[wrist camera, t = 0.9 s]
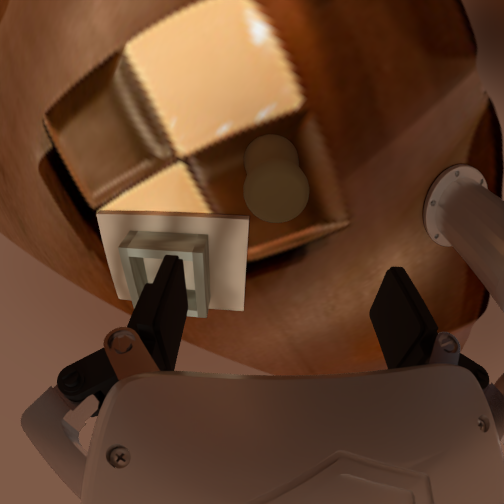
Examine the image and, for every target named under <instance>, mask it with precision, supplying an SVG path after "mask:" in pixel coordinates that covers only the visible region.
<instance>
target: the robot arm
mask: <svg viewBox="0 0 504 504" xmlns="http://www.w3.org/2000/svg"><path fill="white" fill-rule="evenodd" d="M423 220H424V226H425V229H426V231H427V233H428V235H429V236H430V237H431V239H432V240H433V241H434V242H436V243H437V244H439V245H441V246H447V247H449V246H453V248H454V249H455V250H456V251H457V252H458V253H459V255H460V256H461V257H462V258H463V259H464V261H465V262H466V263H467V264H468V265H469V267H470V268H471V269H472V270H473V272H474V273H475V274H476V275H477V277H478V278H479V279H480V281H481V282H482V283H483V285H484V286H485V287H486V289H487V290H488V291H489V293H490V294H491V295H492V297H493V298H494V300H495V301H496V303H497V304H498V305H499V307H500V308H501V310H502V311H503V312H504V201H503V200H501V199H500V198H499V197H497V196H496V195H495V194H493V193H492V192H491V191H489V190H488V188H487V184H486V181H485V179H484V177H483V176H482V174H481V173H480V172H479V171H478V170H477V169H475V168H473V167H472V166H469V165H465V164H459V165H454V166H452V167H450V168H448V169H446V170H445V171H444V172H442V173H441V174H440V175H439V177H438V178H437V179H436V180H435V181H434V183H433V184H432V186H431V188H430V190H429V192H428V194H427V197H426V200H425V204H424V209H423ZM187 312H188V299H187V291H186V283H185V274H184V264H183V259H179V256H178V255H165V256H164V258H163V261H162V263H161V265H160V267H159V270H158V272H157V274H156V277H155V279H154V281H153V283H146V284H145V286H144V288H143V290H142V292H141V295H140V297H139V299H138V302H137V304H136V306H135V309H134V311H133V313H132V316H131V318H130V321H129V323H128V326H127V327H120V328H116V329H114V330H112V331H110V332H109V333H108V334H107V336H106V337H105V339H104V348H102V349H100V350H98V351H96V352H94V353H92V354H90V355H89V356H86V357H84V358H83V359H81V360H79V361H77V362H75V363H73V364H71V365H69V366H67V367H65V368H64V369H63V370H62V371H61V372H60V373H59V376H58V379H57V385H56V386H55V387H54V388H52V386H51V387H49V388H48V389H47V390H46V391H45V392H44V393H43V394H42V395H41V396H40V397H39V398H38V399H37V400H36V401H35V402H34V403H33V404H32V405H30V406H29V407H28V408H27V409H26V410H25V412H24V413H23V414H22V417H21V426H22V428H23V430H24V432H25V433H26V435H27V436H28V438H29V439H30V440H31V442H32V443H33V445H34V446H35V447H36V449H37V450H38V451H39V453H40V454H41V455H42V456H43V458H44V459H45V460H46V462H47V463H48V464H49V465H50V467H51V468H52V469H53V470H54V471H55V473H56V474H57V475H58V476H59V477H60V478H61V479H62V481H63V482H64V483H65V484H66V485H67V486H68V487H69V488H70V489H71V490H72V491H73V492H74V493H75V494H76V495H77V496H78V497H79V498H80V499H81V504H504V459H503V453H502V448H501V444H500V441H501V442H502V443H503V444H504V373H503V374H502V375H501V377H500V378H499V379H498V380H497V381H496V383H495V384H493V383H491V384H489V376H488V373H487V372H486V370H485V369H484V368H483V367H482V366H480V365H478V364H477V363H475V362H474V361H472V360H471V359H469V358H467V357H466V356H464V355H463V354H461V353H460V344H459V342H458V340H457V339H456V337H455V336H453V335H452V334H450V333H448V332H440V333H439V334H438V333H437V330H438V327H437V325H436V323H435V321H434V319H433V317H432V315H431V314H430V312H429V310H428V308H427V306H426V305H425V303H424V301H423V299H422V298H421V296H420V294H419V292H418V291H417V289H416V287H415V286H414V284H413V282H412V281H411V279H410V278H409V276H408V274H407V273H406V271H405V270H404V268H403V267H391V268H390V269H389V270H387V272H386V274H385V276H384V279H383V281H382V284H381V286H380V288H379V291H378V293H377V295H376V298H375V300H374V302H373V304H372V307H371V309H370V319H371V321H372V324H373V327H374V329H375V332H376V335H377V337H378V340H379V343H380V346H381V349H382V352H383V355H384V358H385V361H386V364H387V367H388V369H387V370H378V371H368V372H357V373H344V374H327V375H296V376H266V375H235V374H216V373H202V372H185V371H174V369H175V364H176V359H177V355H178V350H179V346H180V342H181V337H182V333H183V329H184V324H185V320H186V316H187ZM95 416H98V417H97V420H96V423H95V426H94V430H93V434H92V438H91V442H90V446H89V451H88V452H87V451H86V450H85V449H84V448H83V447H82V445H81V444H80V442H79V438H78V437H79V432H80V431H81V429H82V428H83V427H84V426H85V425H86V423H85V421H86V420H87V419H88V418H89V417H95ZM128 450H129V451H128ZM115 467H116V468H115Z"/></svg>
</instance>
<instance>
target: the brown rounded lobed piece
mask: <svg viewBox="0 0 504 504" xmlns="http://www.w3.org/2000/svg"><path fill="white" fill-rule="evenodd" d="M244 166H245V169H246V172H247V177H246V180H245V183H244V199H245V201H246V204H247V206H248V208H249V209H250V210H251V212H252V213H253V214H254V215H255V216H257V217H258V218H260V219H261V220H264V221H267V222H270V223H282V222H286V221H289V220H291V219H293V218H295V217H296V216H298V215H299V214H300V213H301V212H302V211H303V209H304V208H305V206H306V204H307V201H308V198H309V185H308V181H307V178H306V176H305V175H304V173H303V172H302V170H301V169H300V168H299V157H298V154H297V150H296V148H295V147H294V146H293V144H292V143H291V142H290V141H289V140H287V139H286V138H285V137H282V136H279V135H274V134H267V135H263V136H260V137H258V138H256V139H255V140H253V141H252V142H251V143H250V144H249V146H248V147H247V148H246V151H245V154H244Z"/></svg>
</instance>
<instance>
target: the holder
mask: <svg viewBox="0 0 504 504" xmlns="http://www.w3.org/2000/svg"><path fill="white" fill-rule="evenodd" d="M97 219H98V224H99V228H100V233H101V237H102V241H103V245H104V249H105V253H106V257H107V261H108V264H109V268H110V271H111V275H112V278H113V282H114V285H115V288H116V291H117V295H118V298H119V299H124V300H132V303H133V306H134V309H135V306H136V304H137V302H138V299H139V297H140V295H141V292H142V290H143V288H144V286H145V284H146V283H153V281H154V279H155V277H156V274H157V272H158V270H159V267H160V265H161V263H162V261H163V258H164V256H165V255H178V256H179V259H183V264H184V274H185V283H186V291H187V299H188V312H187V316H191V317H202V318H207V314H208V309H222V310H237V311H243V310H244V293H245V277H246V260H247V244H248V228H249V216H241V215H223V214H203V213H180V212H149V211H99V212H98V213H97Z"/></svg>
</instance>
